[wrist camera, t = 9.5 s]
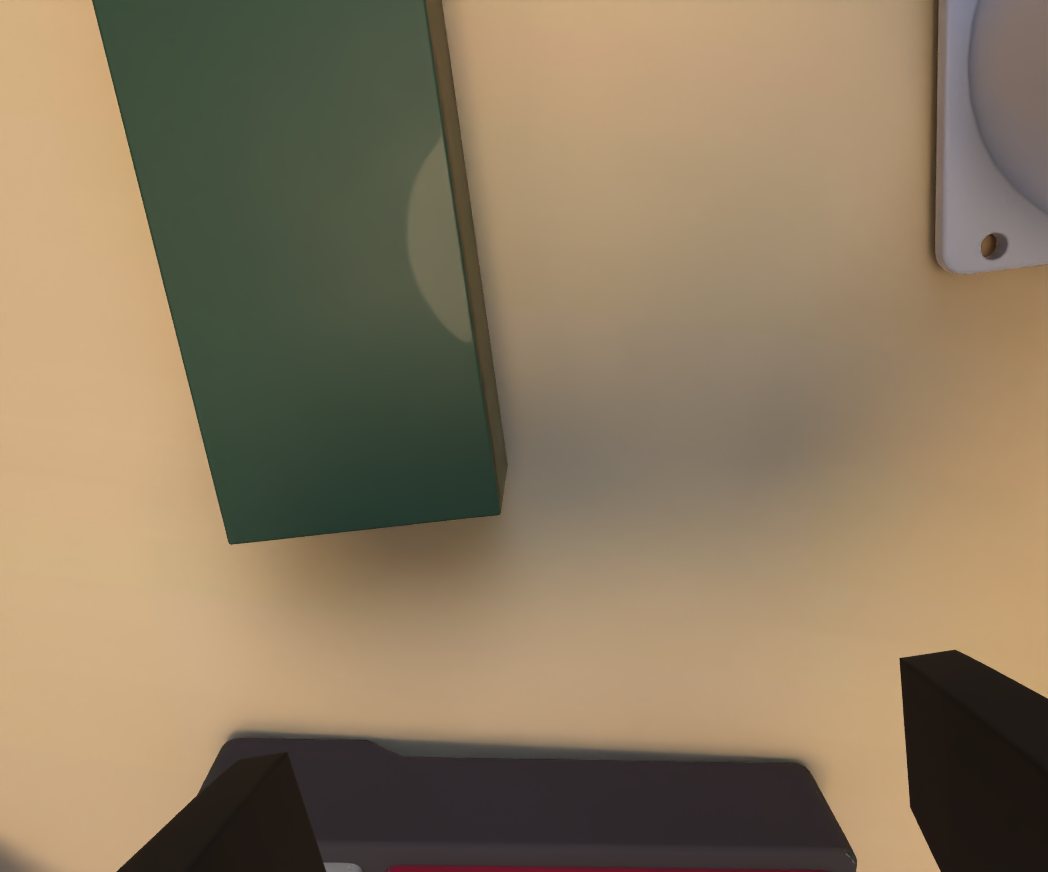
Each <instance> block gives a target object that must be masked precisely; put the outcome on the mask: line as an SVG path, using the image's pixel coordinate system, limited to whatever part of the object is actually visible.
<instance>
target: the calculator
mask: <svg viewBox="0 0 1048 872" xmlns="http://www.w3.org/2000/svg"><path fill="white" fill-rule="evenodd" d="M283 752H288V755H289V758H290V761H291V765H292V768H293V771H294V774H295V777H296V780H297V783H298V786H299V789H300V792H301V795H302V798H303V801H304V805H305V808H306V811H307V814H308V817H309V820H310V823H311V826H312V829H313V832H314V835H315V838H316V841H317V845H318V848H319V851H320V854H321V857H322V860H323V863H324V866H325V869H326V872H856V868H857V859H856V856H855V854H854V852H853V850H852V848H851V846H850V844H849V842H848V840H847V838H846V837H845V835H844V833H843V831H842V829H841V827H840V826H839V824H838V822H837V820H836V818H835V816H834V815H833V813H832V811H831V809H830V807H829V805H828V804H827V802H826V800H825V798H824V796H823V794H822V792H821V791H820V789H819V787H818V785H817V783H816V781H815V780H814V778H813V776H812V775H811V773H810V771H809V770H808V769H807V768H806V767H804V766H802V765H799V764H789V763H733V762H675V761H616V760H558V759H500V758H442V757H404V756H400V755H397V754H395V753H393V752H391V751H389V750H387V749H384V748H382V747H380V746H378V745H376V744H374V743H372V742H370V741H366V740H320V739H265V738H238V739H232V740H230V741H228V742H226V743H225V744H224V745H223V747H222V748H221V750H220V752H219V754H218V756H217V758H216V760H215V762H214V763H213V765H212V767H211V769H210V771H209V773H208V775H207V777H206V779H205V781H204V783H203V785H202V787H201V789H200V791H199V793H198V795H199V794H200V793H201V792H202V791H203V790H204V789H205V788H206V787H207V786H208V785H209V784H211V783H212V782H213V781H214V780H215V779H216V778H217V777H218V776H219V775H221V774H222V773H223V772H224V771H225V770H226V769H228V768H229V767H230V766H231V765H233V764H234V763H235V762H236V761H237V760H239V759H243V758H250V757H256V756H263V755H270V754H276V753H283Z"/></svg>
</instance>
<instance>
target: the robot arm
mask: <svg viewBox="0 0 1048 872" xmlns="http://www.w3.org/2000/svg"><path fill="white" fill-rule="evenodd" d="M990 234H993V235H994V236H995V237H996V241H997V246H996V249H995V251H994V252H993V253H992V254H991V255H990V256H989V257H986V258H985V257H984V256H983V255H982V252H981V244H982V241H983V240H984V239H985V238H986V237H987V235H990ZM935 254H936V259H937V262H938V263H939V265H940V266H941V267H942V268H943V269H944V270H946V271H948V272H950V273H956V274H974V273H982V272H990V271H998V270H1006V269H1014V268H1022V267H1030V266H1038V265H1046V264H1048V0H939V16H938V84H937V152H936V221H935ZM900 671H901V685H902V699H903V713H904V726H905V740H906V754H907V768H908V782H909V796H910V808H911V810H912V812H913V814H914V816H915V818H916V820H917V823H918V825H919V827H920V829H921V831H922V833H923V835H924V837H925V840H926V842H927V844H928V846H929V848H930V850H931V852H932V854H933V856H934V859H935V861H936V863H937V865H938V867H939V869H940V871H941V872H1048V699H1047V698H1045V697H1044V696H1042V695H1040V694H1038V693H1036V692H1034V691H1033V690H1031V689H1029V688H1027V687H1025V686H1023V685H1022V684H1020V683H1018V682H1016V681H1014V680H1012V679H1010V678H1009V677H1007V676H1005V675H1003V674H1001V673H999V672H998V671H996V670H994V669H992V668H990V667H988V666H986V665H984V664H983V663H981V662H979V661H977V660H975V659H973V658H971V657H969V656H967V655H965V654H963V653H961V652H959V651H957V650H950V651H944V652H937V653H931V654H924V655H918V656H911V657H905V658H900ZM117 872H326V869H325V866H324V863H323V860H322V857H321V854H320V851H319V848H318V845H317V841H316V838H315V835H314V832H313V829H312V826H311V823H310V820H309V817H308V814H307V811H306V808H305V805H304V801H303V798H302V795H301V792H300V789H299V786H298V783H297V780H296V777H295V774H294V771H293V768H292V765H291V761H290V758H289V755H288V752H283V753H276V754H270V755H263V756H256V757H250V758H243V759H239V760H237V761H236V762H235V763H234V764H233V765H231V766H230V767H229V768H228V769H226V770H225V771H224V772H223V773H222V774H221V775H219V776H218V777H217V778H216V779H215V780H214V781H213V782H212V783H211V784H209V785H208V786H207V787H206V788H205V789H204V790H203V791H202V792H201V793H200V794H199V795H197V796H196V797H195V798H194V799H193V800H192V801H191V802H190V803H189V804H188V805H187V806H186V807H185V808H184V809H182V810H181V811H180V812H179V813H178V814H177V815H176V816H175V817H174V818H173V819H172V820H171V821H170V822H169V823H168V824H167V825H166V826H165V827H163V828H162V829H161V830H160V831H159V832H158V833H157V834H156V835H155V836H154V837H153V838H152V839H151V840H150V841H149V842H148V843H147V844H145V845H144V846H143V847H142V848H141V849H140V850H139V851H138V852H137V853H136V854H135V855H134V856H133V857H132V858H131V859H129V860H128V861H127V862H126V863H125V864H124V865H123V866H122V867H121V868H120V869H119V870H118V871H117Z"/></svg>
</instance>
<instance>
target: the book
mask: <svg viewBox="0 0 1048 872" xmlns="http://www.w3.org/2000/svg"><path fill="white" fill-rule="evenodd" d="M92 2H93V6H94V10H95V14H96V18H97V22H98V26H99V30H100V34H101V37H102V41H103V45H104V49H105V53H106V57H107V61H108V65H109V69H110V73H111V77H112V81H113V85H114V89H115V93H116V97H117V101H118V105H119V109H120V113H121V117H122V121H123V125H124V129H125V133H126V137H127V141H128V145H129V149H130V153H131V157H132V161H133V165H134V169H135V173H136V177H137V181H138V184H139V188H140V192H141V196H142V200H143V204H144V208H145V212H146V216H147V220H148V224H149V228H150V232H151V236H152V240H153V244H154V248H155V252H156V256H157V260H158V264H159V268H160V272H161V276H162V280H163V284H164V288H165V292H166V296H167V300H168V304H169V308H170V312H171V316H172V320H173V324H174V328H175V332H176V335H177V339H178V343H179V347H180V351H181V355H182V359H183V363H184V367H185V371H186V375H187V379H188V383H189V387H190V391H191V395H192V399H193V403H194V407H195V411H196V415H197V419H198V423H199V427H200V431H201V435H202V439H203V443H204V447H205V451H206V455H207V459H208V463H209V467H210V471H211V475H212V479H213V482H214V486H215V490H216V494H217V498H218V502H219V506H220V510H221V514H222V518H223V522H224V526H225V530H226V534H227V538H228V542H229V544H231V545H232V544H241V543H250V542H259V541H268V540H277V539H286V538H295V537H304V536H313V535H322V534H331V533H340V532H349V531H358V530H367V529H376V528H385V527H394V526H403V525H412V524H420V523H429V522H438V521H447V520H456V519H465V518H474V517H485V516H494V515H500V513H501V507H502V500H503V493H504V486H505V479H506V472H507V458H506V451H505V444H504V437H503V430H502V423H501V416H500V409H499V402H498V395H497V388H496V380H495V373H494V366H493V359H492V352H491V345H490V338H489V331H488V324H487V317H486V310H485V303H484V296H483V289H482V282H481V275H480V268H479V261H478V254H477V246H476V239H475V232H474V225H473V218H472V211H471V204H470V197H469V190H468V183H467V176H466V169H465V162H464V155H463V148H462V141H461V134H460V127H459V120H458V113H457V105H456V98H455V91H454V84H453V77H452V70H451V63H450V56H449V49H448V42H447V35H446V28H445V21H444V14H443V7H442V0H92Z"/></svg>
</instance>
